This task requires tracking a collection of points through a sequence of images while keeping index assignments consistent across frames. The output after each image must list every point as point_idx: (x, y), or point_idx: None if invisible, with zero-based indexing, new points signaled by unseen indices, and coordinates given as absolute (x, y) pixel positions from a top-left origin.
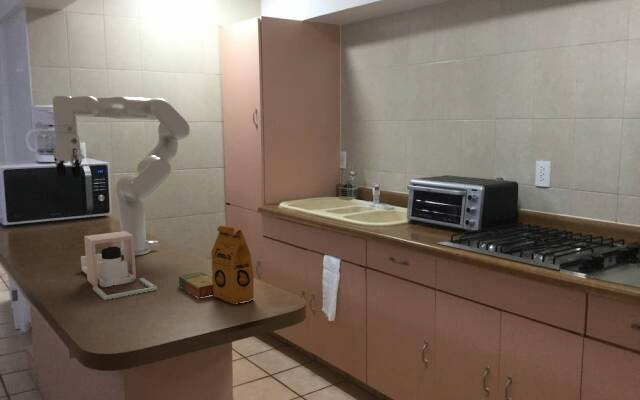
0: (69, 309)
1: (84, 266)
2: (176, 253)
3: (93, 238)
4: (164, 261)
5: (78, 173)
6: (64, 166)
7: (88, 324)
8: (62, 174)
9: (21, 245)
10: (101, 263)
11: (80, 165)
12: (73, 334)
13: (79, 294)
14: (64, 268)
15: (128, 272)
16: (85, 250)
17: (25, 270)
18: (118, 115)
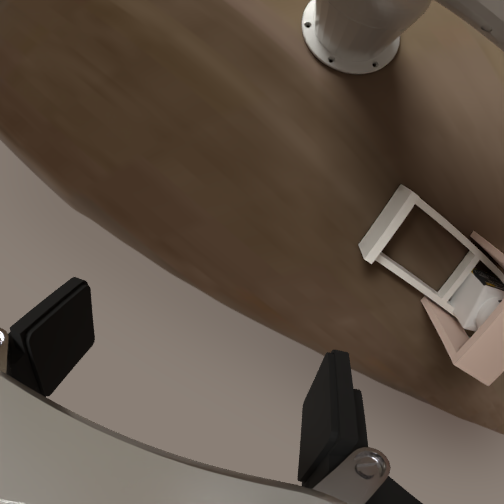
0: (462, 399)
1: (379, 260)
2: (461, 19)
3: (485, 371)
4: (489, 103)
5: (356, 404)
6: (36, 339)
7: (497, 412)
8: (86, 317)
9: (19, 122)
10: (476, 330)
11: (384, 461)
12: (491, 428)
13: (448, 360)
14: (295, 239)
15: (497, 268)
16: (443, 341)
17: (218, 283)
18: None
